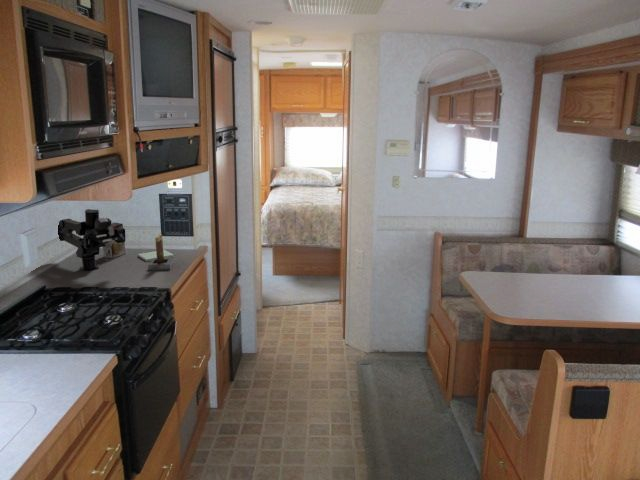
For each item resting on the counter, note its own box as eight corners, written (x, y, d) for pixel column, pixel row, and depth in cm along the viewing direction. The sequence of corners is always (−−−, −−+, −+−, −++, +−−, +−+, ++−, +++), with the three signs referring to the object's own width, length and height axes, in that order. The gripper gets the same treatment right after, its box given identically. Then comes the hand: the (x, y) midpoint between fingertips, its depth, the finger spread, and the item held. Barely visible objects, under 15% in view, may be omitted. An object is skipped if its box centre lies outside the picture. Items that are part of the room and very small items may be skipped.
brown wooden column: (153, 268, 251) (151, 238, 247) (157, 264, 259) (154, 234, 255) (165, 268, 251) (162, 238, 248) (168, 263, 259) (165, 233, 255)
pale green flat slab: (146, 261, 262) (146, 259, 262) (137, 256, 271) (137, 254, 271) (173, 256, 271) (173, 254, 270) (164, 251, 280) (164, 249, 279)
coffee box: (116, 252, 279) (113, 222, 275) (126, 253, 276) (123, 223, 272) (103, 256, 271) (99, 225, 267) (112, 258, 268) (109, 226, 264)
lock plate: (148, 270, 249) (147, 265, 248) (153, 262, 260) (153, 257, 260) (170, 269, 250) (170, 264, 249) (174, 262, 261) (174, 257, 261)
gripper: (74, 220, 232) (93, 229, 223) (114, 213, 246) (134, 221, 237) (76, 244, 235) (95, 254, 226) (115, 236, 249) (134, 245, 240)
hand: (115, 242), depth 232 cm, fingers open, 9 cm apart
